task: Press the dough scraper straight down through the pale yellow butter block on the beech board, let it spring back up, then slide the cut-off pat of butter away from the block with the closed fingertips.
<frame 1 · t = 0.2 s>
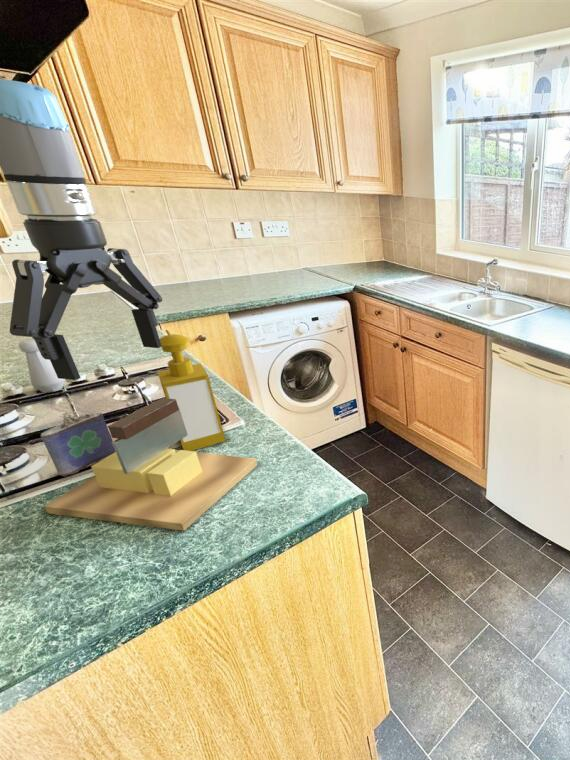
hand: (115, 361, 66), 24 cm above the counter, tool pointing down, fingers open, 13 cm apart
dough scraper: (151, 432, 71), point 12 cm above the counter, slide at 0.1 cm
soap bottle: (199, 434, 92), on the counter
flask: (89, 463, 81), on the counter
salt shaker: (52, 389, 106), on the counter
butter pat: (179, 482, 75), point 1 cm above the counter, touching butter board
butter block: (142, 478, 75), point 1 cm above the counter, touching butter board
butter board: (162, 486, 76), on the counter
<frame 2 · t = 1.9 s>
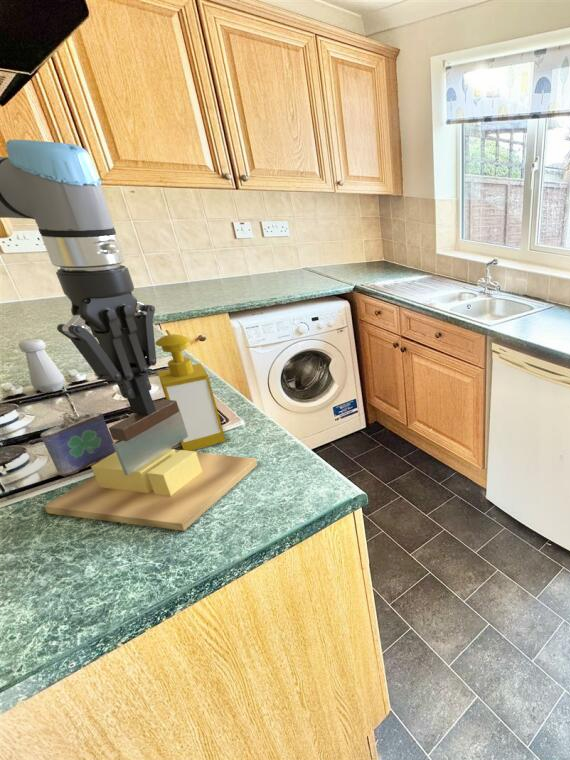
hand: (144, 411, 69), 16 cm above the counter, tool pointing down, fingers closed
dough scraper: (151, 434, 71), point 11 cm above the counter, slide at -0.2 cm, touching gripper
everything else where it was.
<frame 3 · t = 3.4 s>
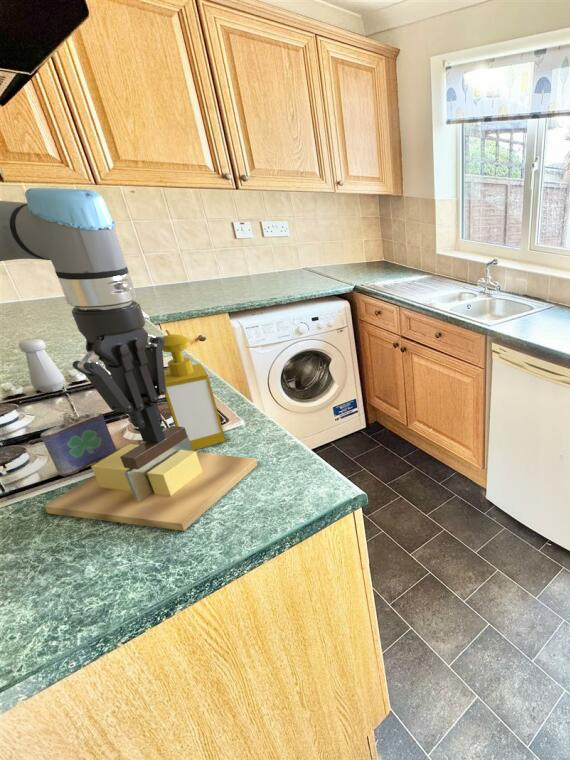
hand: (154, 439, 71), 10 cm above the counter, tool pointing down, fingers closed
dough scraper: (161, 460, 73), point 6 cm above the counter, slide at -5.6 cm, touching gripper
everything else where it was.
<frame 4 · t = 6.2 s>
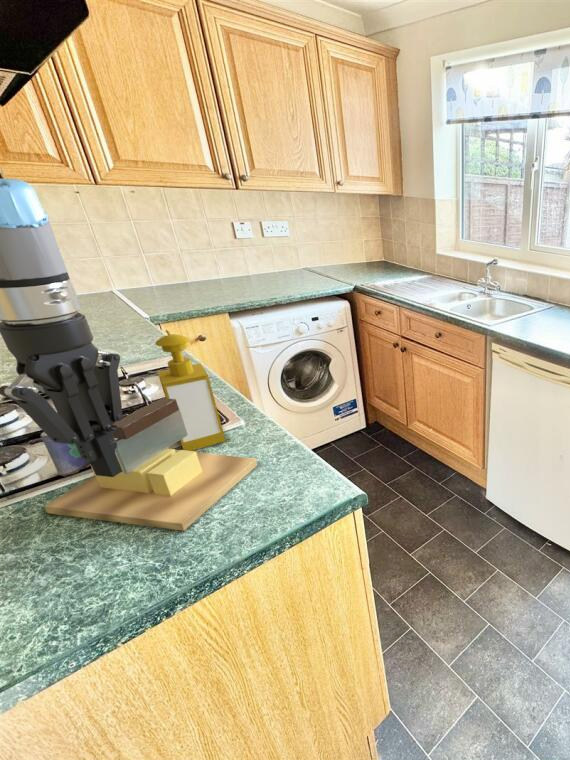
hand: (109, 473, 61), 12 cm above the counter, tool pointing down, fingers closed
dough scraper: (151, 432, 71), point 12 cm above the counter, slide at 0.1 cm
everything else where it was.
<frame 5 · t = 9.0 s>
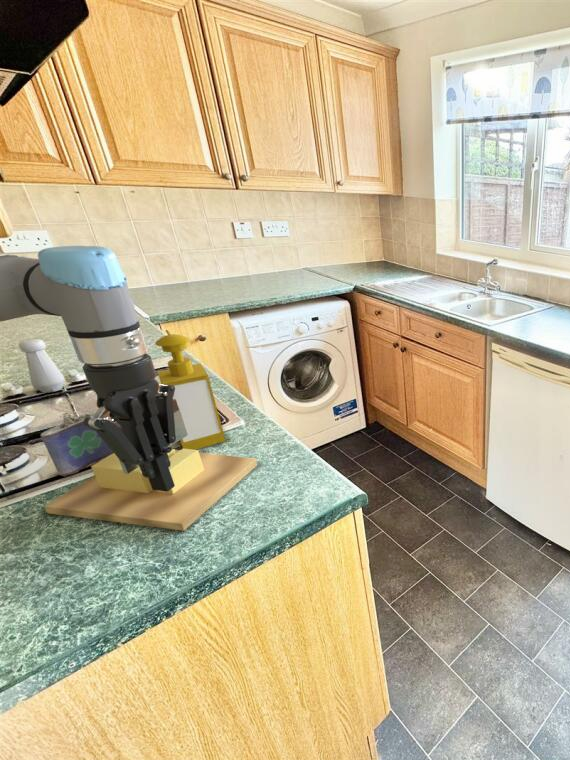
hand: (163, 487, 71), 3 cm above the counter, tool pointing down, fingers closed
butter pat: (181, 480, 75), point 2 cm above the counter
everything else where it was.
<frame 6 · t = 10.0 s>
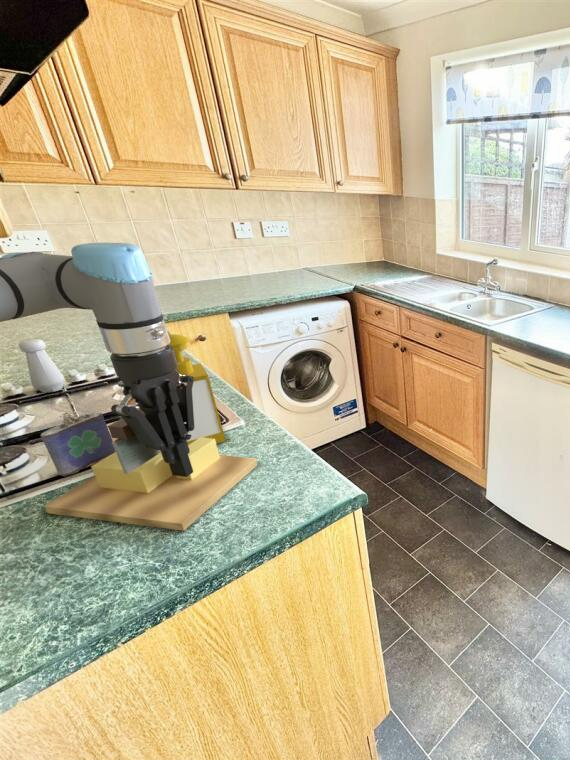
hand: (183, 473, 74), 3 cm above the counter, tool pointing down, fingers closed
butter pat: (199, 467, 79), point 1 cm above the counter, touching butter board
everything else where it was.
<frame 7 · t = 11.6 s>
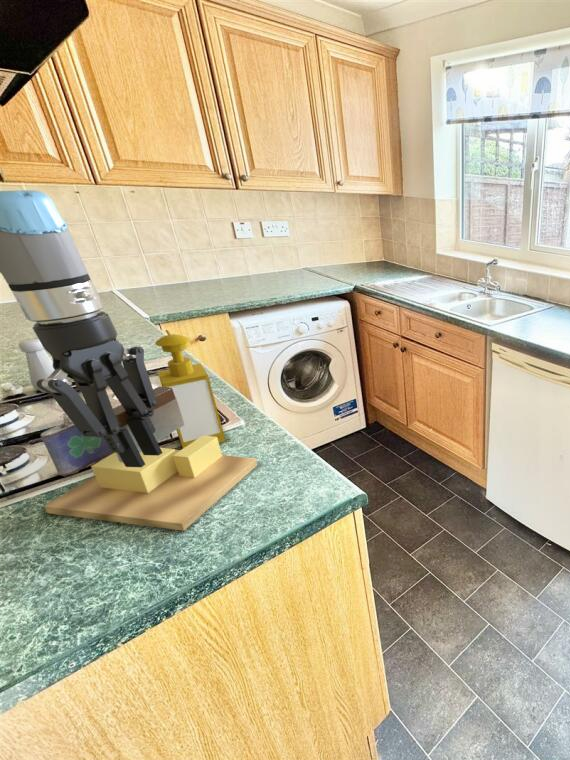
hand: (144, 459, 66), 10 cm above the counter, tool pointing down, fingers open, 2 cm apart
dough scraper: (147, 421, 70), point 14 cm above the counter, slide at 2.3 cm, touching gripper, hand
everything else where it was.
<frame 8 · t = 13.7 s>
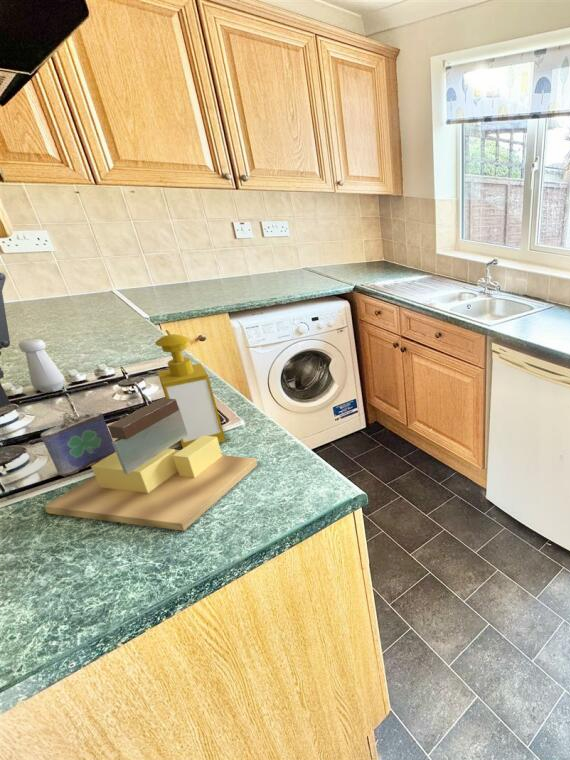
dough scraper: (151, 432, 71), point 12 cm above the counter, slide at 0.1 cm
everything else where it was.
at the end: dough scraper pushed in 5.7 cm at the most during the clip, back to where it started at the end; butter pat 0.5 cm from the target spot, point 1.5 cm above the counter; butter block moved 0.0 cm from its start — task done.
